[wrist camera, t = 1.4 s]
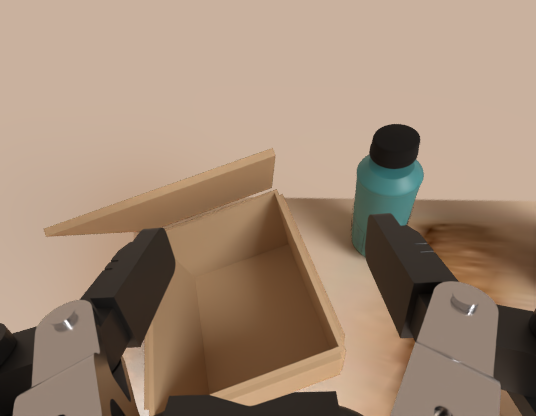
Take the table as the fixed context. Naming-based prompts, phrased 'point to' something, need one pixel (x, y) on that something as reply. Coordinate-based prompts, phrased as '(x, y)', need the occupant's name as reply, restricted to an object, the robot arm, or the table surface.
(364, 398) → the table surface
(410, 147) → the beverage bottle
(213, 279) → the carton
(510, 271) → the table surface
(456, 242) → the table surface
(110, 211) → the carton flap
